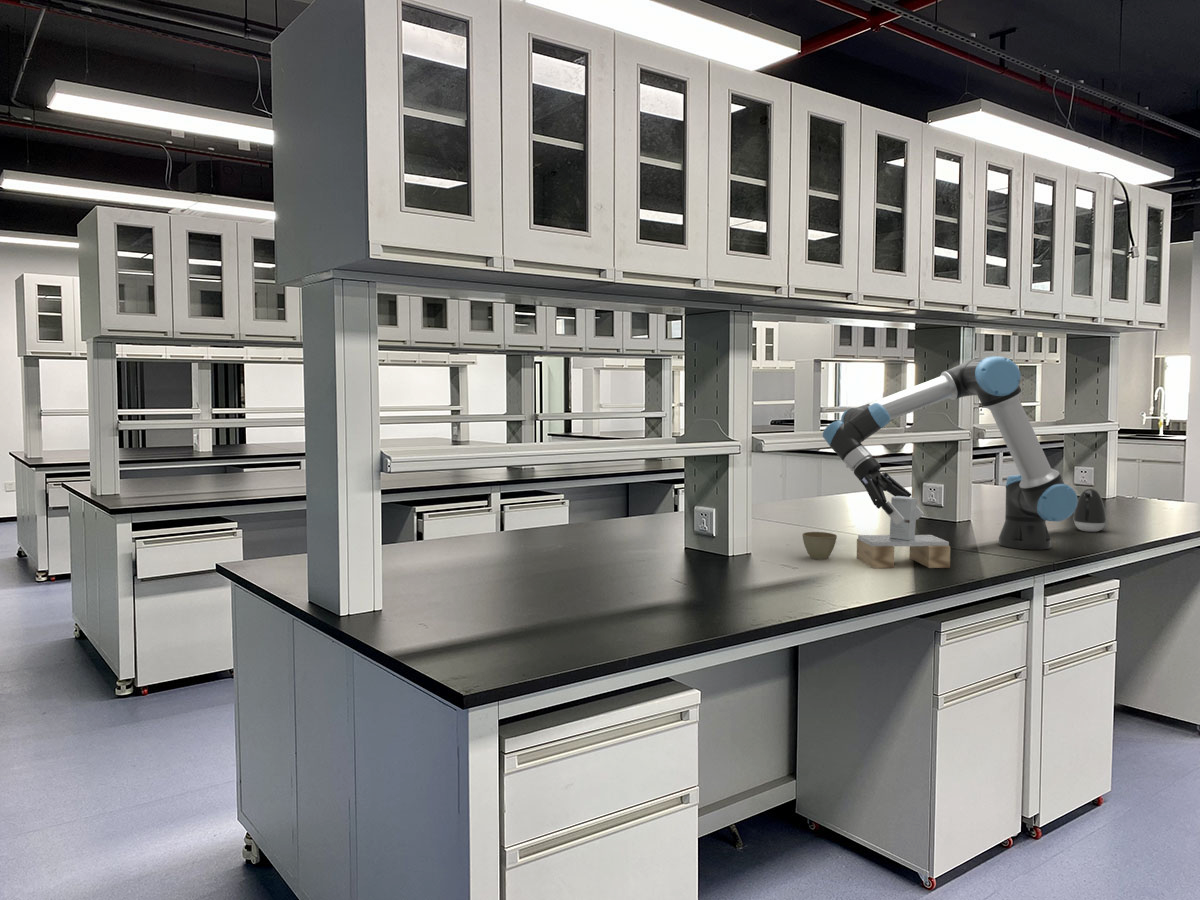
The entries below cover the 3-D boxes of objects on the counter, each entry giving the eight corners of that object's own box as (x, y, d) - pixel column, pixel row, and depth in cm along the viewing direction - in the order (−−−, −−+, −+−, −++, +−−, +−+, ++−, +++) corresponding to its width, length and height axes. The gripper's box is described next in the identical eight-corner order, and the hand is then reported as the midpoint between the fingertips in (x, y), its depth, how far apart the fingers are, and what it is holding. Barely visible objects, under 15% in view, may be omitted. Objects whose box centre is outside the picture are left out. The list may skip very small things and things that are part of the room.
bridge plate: (931, 538, 247) (931, 534, 247) (948, 546, 235) (948, 541, 235) (858, 539, 247) (858, 535, 247) (871, 546, 235) (872, 542, 235)
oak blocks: (929, 558, 249) (929, 538, 248) (949, 567, 235) (950, 546, 234) (856, 558, 248) (856, 538, 248) (872, 568, 234) (873, 547, 234)
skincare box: (889, 538, 242) (889, 496, 241) (895, 536, 245) (896, 495, 244) (909, 540, 237) (910, 498, 237) (916, 538, 241) (917, 497, 240)
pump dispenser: (1068, 530, 298) (1069, 488, 297) (1078, 527, 305) (1079, 486, 304) (1100, 534, 291) (1101, 491, 290) (1109, 530, 298) (1111, 488, 297)
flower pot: (798, 559, 247) (799, 535, 246) (805, 553, 256) (806, 530, 255) (833, 562, 242) (833, 538, 242) (838, 556, 252) (839, 533, 251)
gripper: (873, 470, 259) (919, 522, 250) (834, 475, 242) (882, 532, 232) (889, 453, 255) (937, 506, 246) (851, 458, 238) (901, 515, 228)
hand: (910, 519), depth 239 cm, fingers open, 13 cm apart
